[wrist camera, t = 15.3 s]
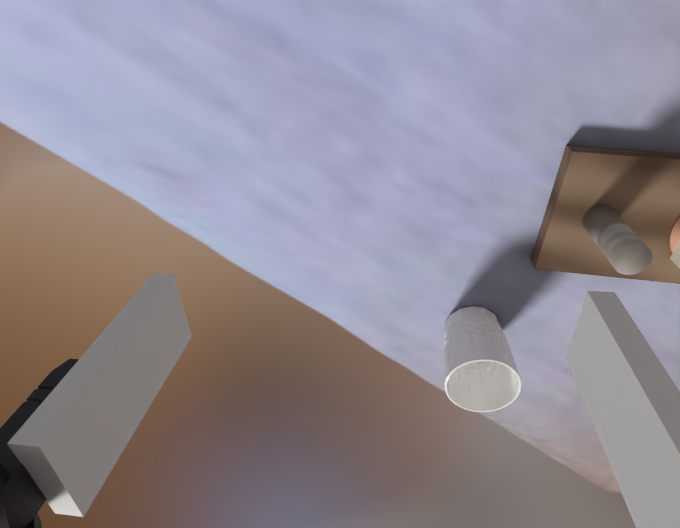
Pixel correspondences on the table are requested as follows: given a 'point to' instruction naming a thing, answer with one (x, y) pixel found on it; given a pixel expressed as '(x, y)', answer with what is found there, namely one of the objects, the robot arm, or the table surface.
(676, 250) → the matte off-white cube
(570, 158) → the board
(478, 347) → the white cup
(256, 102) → the table surface
